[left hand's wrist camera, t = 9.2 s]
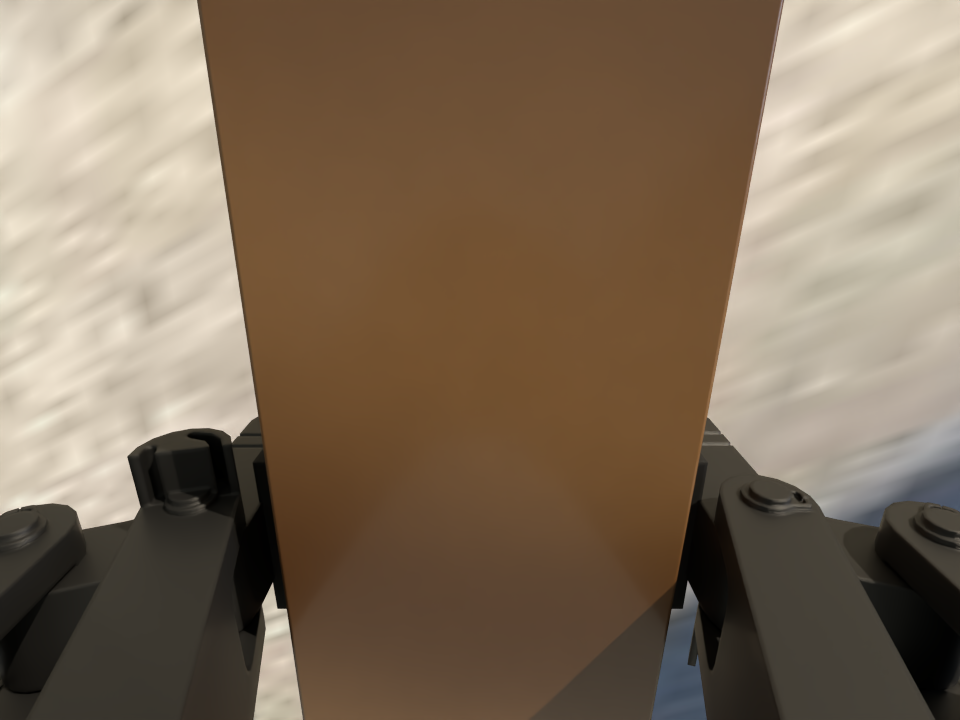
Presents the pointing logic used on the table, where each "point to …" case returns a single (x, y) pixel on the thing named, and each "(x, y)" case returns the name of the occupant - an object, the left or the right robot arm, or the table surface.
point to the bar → (484, 329)
